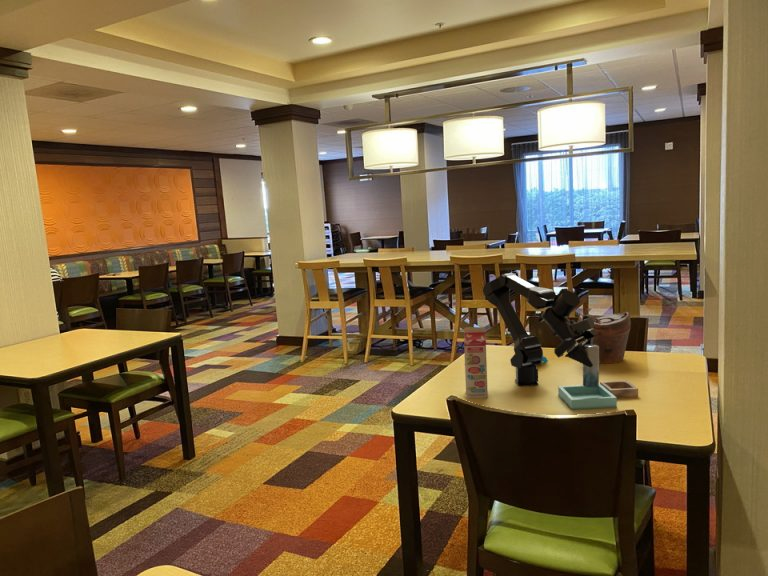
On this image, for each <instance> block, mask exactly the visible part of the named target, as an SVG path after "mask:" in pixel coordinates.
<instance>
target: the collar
mask: <svg viewBox="0 0 768 576" xmlns="http://www.w3.org/2000/svg"><path fill="white" fill-rule="evenodd" d="M599 384H601V385H602V386H603V387H604V388H606V389H607V390H608V391H609V392H610V393H612V394H613V395H614V396H615V397H617V399H619V398H638V397H639V387H636V386H635V385H633V384H632V383H631V382H629V381H628V380H627V379H626V380H612V381H611V380H610V381H599Z"/></svg>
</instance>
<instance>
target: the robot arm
mask: <svg viewBox="0 0 768 576" xmlns="http://www.w3.org/2000/svg"><path fill="white" fill-rule="evenodd" d="M511 290H512V291H513V292H514V293H517V294H518V295H520V296H522V297H524V298H525V299H526V300H527V303H528V304H529V305H530V306H531V307H533V309H535V310H544V311H541V312H539V313H538V323H542V322H545V323H546V324H547V325H548V326H549V328H550V329H551V330H552V331H553V333H552V336H553V337H558V338H559V340H561V342H560V343H559V344H558V345H557V346H556V347H555V348H554V349H553V351H554V353H553V354H555V356H556V357H557V358H561V357H563V356H564V358H569V359H572V360H573V361H576V362H578V363H581V364H582V365H583V364H584V365H586V366H588V367H592V366H593V364H592V362H591V361H590V359H589V358H588V357H587V355H586V354H585V352H584V351H583V345H589V344H591V345H593V339H594V336H596V335H597V334H598V333H597V332H596V331H595V330H594V329H592V328H593V327H596V326H595V324H594V322H595V319H593V317H591V316H590V315H591V314H590V315H587V314H585V315H586V316H584V317H582V321H579V322H578V321H577V322H576V321H575V320H574V319H569V318H568V316H570V315H571V313H573V312H574V311H575V309H576V308H577V307H578V306H579V305H580V302H581V301H580V299H581V298H579V296H578V294H576V293H574V292H573V291H571V290H569V289H568V288H567V287H565V288H561V289H560V290H559V293H556V291H554V290H553V289H551V288H547V287H539V286H536V285H534V284H532V283H530V282H528V281H527V280H525V279H523V278H521V277H519V276H517V275H516V273H513V272H511V273H510V272H509V273H503V274H500V275H499V276H498V277H496V278H494V279H493V280H490V281H489V282H485V284H484V286H483V288H482V294H483V296H484V297H485V299H487V302H488V303H490V304H492V305H493V306H494V307H496V310H497V311H498V313H499V315H500V317H501V318H502V320H503V322H504V324H505V326H506V328H507V330H508V331H509V334H510V336H511V338H512V339H513V342H514V344H513V345H514V346H513V353H514V354H513V356H511V358H510V360H509V361H510V365H511V367H514V368H515V379H514V382H515V383H516V385H517V386H518V387H524V386H528V387H529V386H539V383H538V382H539V370H538V369H537V366H538V365H539V366H540V365H541V363H542V361H541V359H542V355H543V356H544V351H543V348H542V347H543V345H542V344H541V343H540V342H539V339H538V337H537V336H535V335H534V336H530V335H529V334H528V332H527V330H526V329H525V326H524V325H523V323H522V321H521V319H520V317H519V316H518V314H517V312H516V310H515V308H514V306H513V305H512V303H511V300H510V296H511V292H510V291H511ZM565 353H566V354H565ZM564 354H565V355H564ZM599 362H600V360H599Z"/></svg>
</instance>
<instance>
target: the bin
mask: <svg viewBox="0 0 768 576" xmlns="http://www.w3.org/2000/svg"><path fill="white" fill-rule="evenodd" d="M557 389H558V390H557V391H558V397H559V398H560V399H561V401H563V402H564V403H565V405H566V406H568V408H570V410H571V411H577V410H578V411H579V410H580V411H581V410H596V409H612V408H613V409H615V408H617V407H618V406H617V404H618V403H617V402H618V401H617V399H618V398H617V397H615V396H614V395H613V394H612V393H610V392H609V391H608V390H607V389H606V388H604V387H603V386H602V385H601V384H600V383H599V386H598V387H595V388H590V387H585V386H583V384H579V385H578V384H577V385H561V386H557Z"/></svg>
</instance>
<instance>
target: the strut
mask: <svg viewBox="0 0 768 576" xmlns="http://www.w3.org/2000/svg"><path fill="white" fill-rule="evenodd" d="M583 351H584V352H585V354H586V355H587V357H588V358H589V359H590V361H591V362H592V364H593V366H592V367H588V366H586V365H584V364H582V385H583V386H585V387H590V388H595V387H598V386H599V384H600V363H599V346H597V345H591V344H589V345H583Z"/></svg>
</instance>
